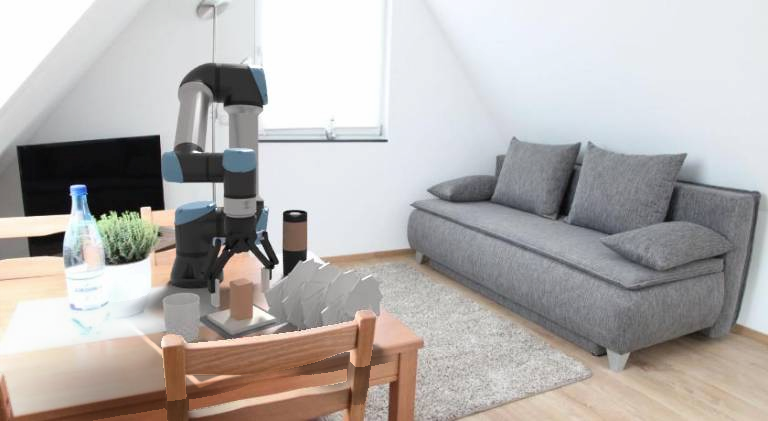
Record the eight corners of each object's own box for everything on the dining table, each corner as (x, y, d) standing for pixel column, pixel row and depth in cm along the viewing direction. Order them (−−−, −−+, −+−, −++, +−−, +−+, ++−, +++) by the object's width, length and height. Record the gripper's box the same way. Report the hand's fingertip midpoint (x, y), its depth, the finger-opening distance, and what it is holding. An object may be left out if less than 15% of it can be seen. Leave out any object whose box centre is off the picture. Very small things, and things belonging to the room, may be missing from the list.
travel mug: (294, 268, 181) (295, 208, 177) (311, 273, 177) (312, 212, 173) (277, 274, 175) (277, 212, 171) (294, 279, 171) (295, 216, 167)
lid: (207, 318, 138) (206, 280, 136) (250, 307, 146) (249, 270, 144) (231, 334, 130) (231, 294, 127) (275, 321, 138) (275, 283, 136)
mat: (196, 321, 138) (195, 318, 138) (252, 306, 149) (252, 303, 149) (228, 343, 127) (228, 340, 127) (287, 325, 138) (287, 322, 138)
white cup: (189, 349, 123) (188, 307, 121) (157, 345, 125) (155, 303, 123) (207, 335, 131) (206, 294, 129) (176, 331, 132) (175, 291, 130)
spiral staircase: (301, 331, 145) (379, 355, 130) (252, 322, 131) (333, 348, 116) (320, 263, 148) (398, 279, 133) (275, 246, 134) (356, 263, 119)
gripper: (197, 223, 121) (200, 315, 125) (293, 211, 138) (292, 292, 142) (182, 217, 126) (185, 306, 131) (276, 205, 143) (276, 284, 148)
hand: (241, 299), depth 136 cm, fingers open, 13 cm apart
